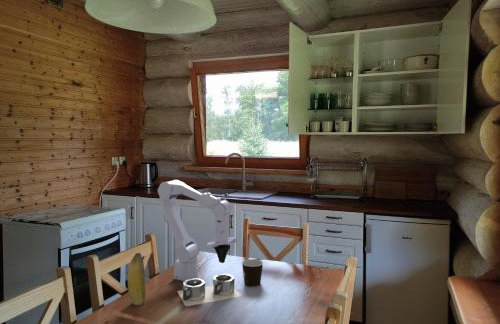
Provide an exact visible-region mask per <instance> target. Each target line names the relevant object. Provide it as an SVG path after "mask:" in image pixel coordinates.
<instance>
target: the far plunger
mask: <svg viewBox="0 0 500 324" xmlns="http://www.w3.org/2000/svg"><path fill="white" fill-rule="evenodd" d="M219 280H220V281H228V276H225V275H223V276H220V277H219Z"/></svg>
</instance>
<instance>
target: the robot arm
mask: <svg viewBox="0 0 500 324" xmlns="http://www.w3.org/2000/svg"><path fill="white" fill-rule="evenodd" d="M157 193H158V196H159V206H160V208H161V210H162V212H163V215H164V217H165V219H166V221H167V223H168V226H169V228H170V230H171V232H172V235H173V236H174V238H175V241H176V243H175V246H174V247H175V253H176V257H177V259H176V260H175V261H174V264H173V279H174V280H178V281H181V282H184V281H186V280H188V279H194V278H197V279H198V269H197V268H198V263H197V262H198V259H197V258H198V256H199V253H200V246H199V245H198V243H196V242H195V239H194V238H193V237H191V236H189V234H188V233H187V229H186V228H185V225H184V223H183V221H182V219H181V217H180V216H181V215H180V213H179V212H178V209H177V207H176V205H175V201H176V199H177V197H178V196H179V195H184V196H186V197H188V198H191V199H194V200H196V201H197V202H198V204H199V206H201V207H204V209H206V210H208V211H211V212H212V213H213V215H214V240H212V241H210V242H207V243H206V247H205V248H206V249H208V250H211V249H212V248H213V249H214V250H215V252H216V256H217V257H218V262H219V263H221V264H224V263H225V262H226V258H227V255H228V252H229V250H230V249H231V245H230V244H233V243H237V242H238V241H237V240H238V239H237V237H235V236H231V237H230V212H231V210H232V205H231V203H230V202H229V201H228V200H227V199H222V198H221V197H216V196H214V195H213V194H212V193H211V192H204V193H202V192H199V191H198V190H196V188H195V189H194V188H193V187H191V186H189V185H187V184H186V183H185V182H183V181H181V180H179V179H173V180H170V181H169V180H168V181H162V182H161V183H160V184H159V186H158V188H157Z"/></svg>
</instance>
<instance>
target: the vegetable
mask: <svg viewBox="0 0 500 324" xmlns="http://www.w3.org/2000/svg"><path fill="white" fill-rule="evenodd" d="M145 276H146V275H145V263H144V260H143V257H142V253H140V252H136V253H135V254H134V255H133V257H132V259H131V261H130V262H129V265H128V271H127V290H128V295H129V299H130V301H131V303H132V304H133V305H134V306H141V305H143V304H144V303H145V301H146V280H145V279H146V278H145Z"/></svg>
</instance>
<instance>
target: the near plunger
mask: <svg viewBox="0 0 500 324" xmlns="http://www.w3.org/2000/svg"><path fill="white" fill-rule="evenodd" d="M189 285H190V286H197V285H199V281H198V280H191V281H190V282H189Z"/></svg>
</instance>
